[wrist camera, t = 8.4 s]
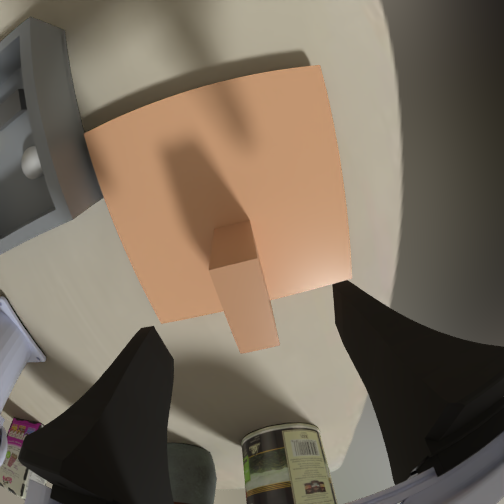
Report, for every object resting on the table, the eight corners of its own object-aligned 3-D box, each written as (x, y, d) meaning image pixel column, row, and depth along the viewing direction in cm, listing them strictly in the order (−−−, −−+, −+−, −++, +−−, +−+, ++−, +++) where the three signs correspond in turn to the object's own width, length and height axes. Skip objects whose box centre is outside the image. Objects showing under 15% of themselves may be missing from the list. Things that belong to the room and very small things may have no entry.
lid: (165, 311, 19) (148, 374, 14) (94, 132, 13) (35, 142, 8) (344, 267, 18) (381, 322, 13) (312, 69, 13) (356, 44, 7)
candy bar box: (30, 431, 31) (11, 492, 16) (13, 416, 28) (-9, 479, 14) (60, 437, 30) (42, 509, 15) (41, 422, 28) (19, 497, 13)
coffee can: (242, 455, 31) (250, 540, 18) (238, 426, 26) (247, 538, 14) (313, 447, 32) (332, 528, 19) (327, 416, 27) (355, 519, 14)
